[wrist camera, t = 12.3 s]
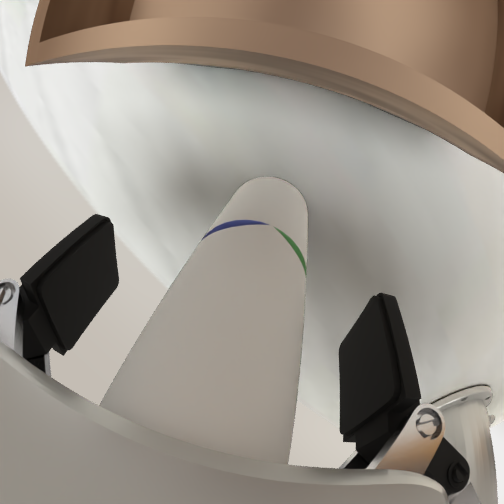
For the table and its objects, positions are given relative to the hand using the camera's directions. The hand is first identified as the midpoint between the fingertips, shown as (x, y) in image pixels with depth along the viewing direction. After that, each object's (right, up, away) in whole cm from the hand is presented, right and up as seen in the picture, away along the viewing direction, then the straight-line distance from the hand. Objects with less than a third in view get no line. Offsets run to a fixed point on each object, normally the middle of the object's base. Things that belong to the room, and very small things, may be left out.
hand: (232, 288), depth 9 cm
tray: (+4, +15, -2) cm, 15 cm away
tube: (+2, +3, +6) cm, 7 cm away
